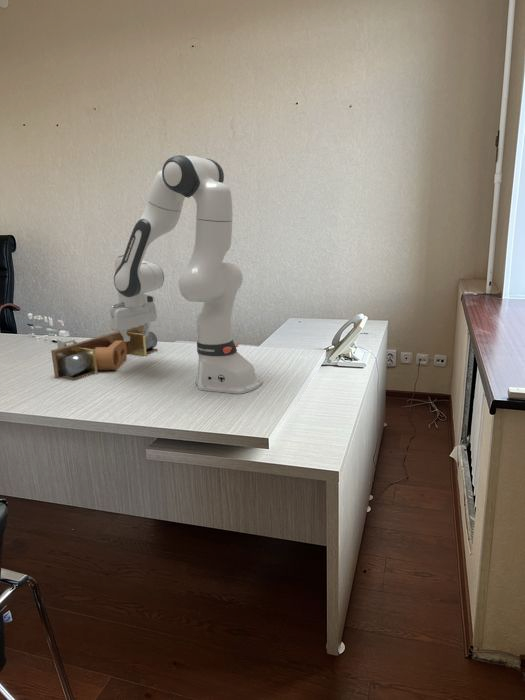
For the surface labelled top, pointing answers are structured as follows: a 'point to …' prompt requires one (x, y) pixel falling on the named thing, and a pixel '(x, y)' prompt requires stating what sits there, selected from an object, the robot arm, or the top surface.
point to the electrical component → (65, 342)
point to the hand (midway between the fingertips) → (136, 338)
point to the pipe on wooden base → (82, 355)
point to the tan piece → (111, 356)
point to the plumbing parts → (61, 332)
